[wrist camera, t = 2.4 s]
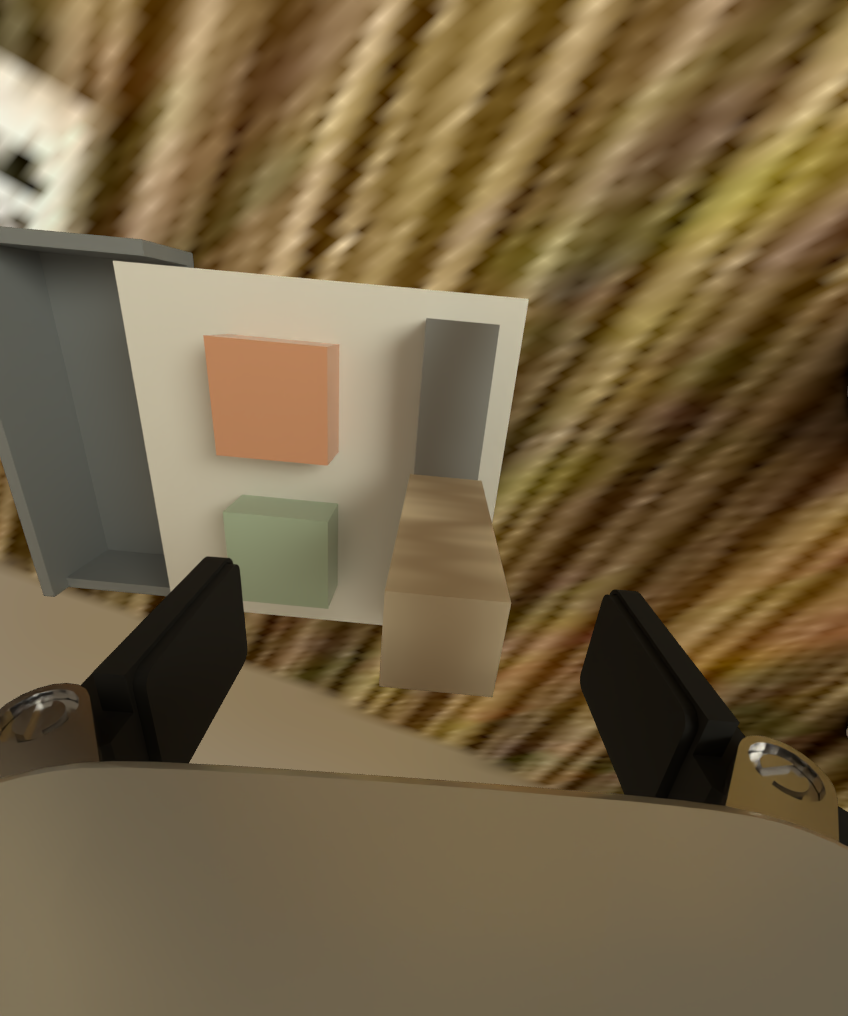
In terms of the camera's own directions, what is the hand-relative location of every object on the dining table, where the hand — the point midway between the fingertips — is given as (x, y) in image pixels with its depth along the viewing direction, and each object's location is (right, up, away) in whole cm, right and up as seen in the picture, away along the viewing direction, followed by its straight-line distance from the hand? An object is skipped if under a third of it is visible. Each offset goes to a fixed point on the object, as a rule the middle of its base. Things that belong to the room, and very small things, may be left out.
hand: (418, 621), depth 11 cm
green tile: (-6, +1, +10) cm, 12 cm away
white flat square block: (-4, +7, +14) cm, 16 cm away
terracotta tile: (-6, +8, +7) cm, 12 cm away
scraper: (+1, +4, +9) cm, 9 cm away
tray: (-16, +8, +14) cm, 23 cm away
